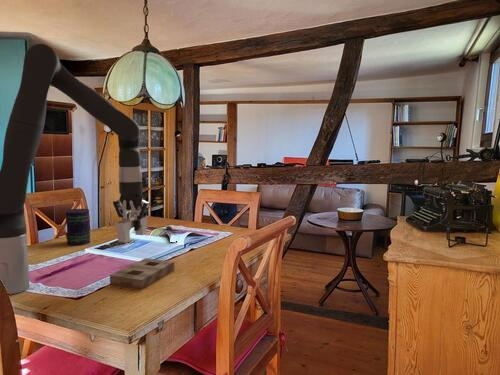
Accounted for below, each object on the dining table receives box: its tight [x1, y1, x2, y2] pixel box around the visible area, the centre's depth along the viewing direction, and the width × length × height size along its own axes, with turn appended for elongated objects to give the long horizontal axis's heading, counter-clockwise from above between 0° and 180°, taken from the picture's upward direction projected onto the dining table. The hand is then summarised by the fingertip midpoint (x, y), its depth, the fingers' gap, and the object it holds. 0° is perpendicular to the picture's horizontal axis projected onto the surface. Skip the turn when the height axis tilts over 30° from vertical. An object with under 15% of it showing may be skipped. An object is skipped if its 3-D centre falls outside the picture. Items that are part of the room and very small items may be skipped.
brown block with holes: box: [109, 257, 175, 290], centre depth 133 cm, size 20×12×3 cm, turn 161°
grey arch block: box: [114, 215, 148, 243], centre depth 133 cm, size 14×3×6 cm, turn 163°
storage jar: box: [65, 208, 91, 247], centre depth 175 cm, size 10×10×15 cm
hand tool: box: [165, 225, 174, 232], centre depth 187 cm, size 19×4×5 cm, turn 18°
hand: (132, 230), depth 133 cm, fingers closed on grey arch block, 3 cm apart
